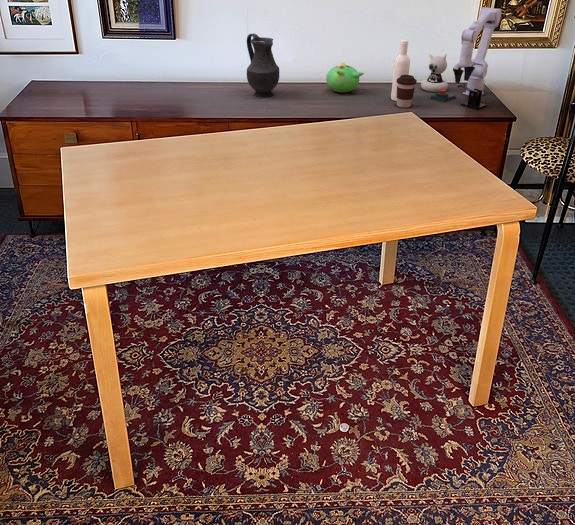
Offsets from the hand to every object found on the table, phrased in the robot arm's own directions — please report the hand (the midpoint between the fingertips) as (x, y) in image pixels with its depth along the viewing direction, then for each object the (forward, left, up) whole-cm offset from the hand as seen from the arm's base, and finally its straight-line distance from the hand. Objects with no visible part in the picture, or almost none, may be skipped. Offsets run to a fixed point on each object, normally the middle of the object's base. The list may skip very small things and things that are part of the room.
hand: (461, 81), depth 326 cm
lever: (0, +4, -4) cm, 6 cm away
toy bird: (+33, -52, -11) cm, 63 cm away
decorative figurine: (-9, -22, -11) cm, 27 cm away
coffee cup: (+27, -15, -11) cm, 33 cm away
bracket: (0, +9, -11) cm, 14 cm away
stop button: (+2, -9, -8) cm, 12 cm away
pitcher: (+69, -78, -11) cm, 105 cm away
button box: (+1, -9, -11) cm, 14 cm away
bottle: (+20, -24, -11) cm, 33 cm away
